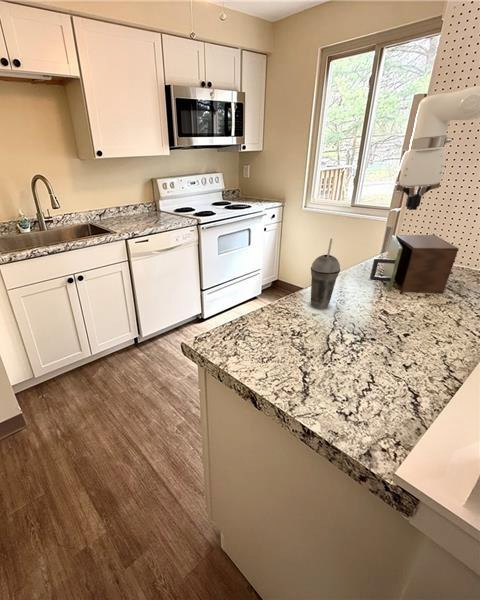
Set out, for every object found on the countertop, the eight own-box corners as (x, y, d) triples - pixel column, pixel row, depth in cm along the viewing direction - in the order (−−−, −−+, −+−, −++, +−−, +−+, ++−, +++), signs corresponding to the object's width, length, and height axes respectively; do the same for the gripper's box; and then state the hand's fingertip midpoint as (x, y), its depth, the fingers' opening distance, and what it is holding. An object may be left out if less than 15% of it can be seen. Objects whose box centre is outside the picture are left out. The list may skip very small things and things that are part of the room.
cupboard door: (368, 288, 98) (377, 247, 93) (365, 272, 110) (373, 234, 104) (391, 290, 95) (402, 248, 90) (385, 274, 107) (395, 235, 101)
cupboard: (401, 291, 94) (414, 248, 89) (386, 274, 107) (396, 235, 101) (443, 293, 91) (458, 248, 85) (422, 275, 103) (434, 234, 98)
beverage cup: (301, 307, 92) (310, 241, 83) (311, 298, 96) (320, 235, 88) (327, 314, 87) (340, 244, 78) (337, 304, 91) (349, 237, 82)
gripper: (454, 141, 90) (437, 205, 97) (391, 147, 95) (379, 208, 103) (467, 140, 84) (447, 210, 91) (399, 147, 89) (385, 212, 97)
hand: (411, 209), depth 97 cm, fingers closed
